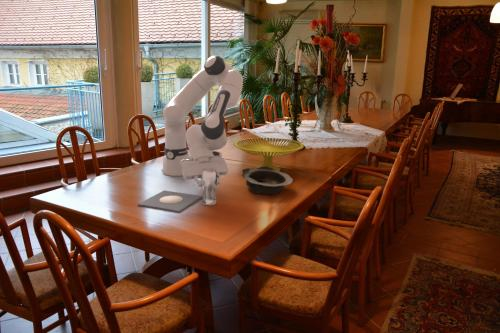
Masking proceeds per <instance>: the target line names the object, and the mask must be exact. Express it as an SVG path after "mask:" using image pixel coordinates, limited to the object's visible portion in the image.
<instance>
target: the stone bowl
mask: <svg viewBox="0 0 500 333" xmlns="http://www.w3.org/2000/svg"><path fill="white" fill-rule="evenodd" d="M261 166H262V165H261ZM258 167H259V166H258ZM241 177H242V178H243V179H245V180H246V181H245V185H246V186H247V187H248V188H249V189H250V192H252V193H254V194H260V195H264V194H267V195H275V194H278V193H280V192H281V191H282V190H283V189H284V187H285V186H288V185H291V183H292V184H293V180H294V179H293V178H292V177H291V175H289V174H287V173H286V172H281V171H275V170H274V169H273V168H270V167H263V166H262V167H259V168H257V167H256V168H245V169H242V174H241Z"/></svg>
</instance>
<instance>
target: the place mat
mask: <svg viewBox="0 0 500 333" xmlns="http://www.w3.org/2000/svg"><path fill="white" fill-rule="evenodd" d="M201 199H203V195H197V194H192V193H191V194H190V193H186V192H184V193H183V192H179V191H178V192H177V191H171V190H162V191H160V192H158V193H156V194H154V195H153V196H151V197H150V196H149V198H146V199H145V200H143V201H140V202H138V203H137V206H138V207H142V208H143V207H144V208H150V209H155V210H162V211H168V212H174V213H178V214H180V213H181V212H183V211H184V210H186V209H187V208H189V207H190V206H192V205H193V204H196V202H198V201H200V200H201Z"/></svg>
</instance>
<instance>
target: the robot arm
mask: <svg viewBox="0 0 500 333" xmlns="http://www.w3.org/2000/svg"><path fill="white" fill-rule="evenodd" d="M215 86H216V87H217V86H218V88H217V93H216V95H215V98H214V99H213V102H212V106H211V107H210V109H209V112H208V114H207V115H206V116H205V117H204V118H203V120H202V121H201V124H192V125H191V126H189V127H188V128H186V124H187V123H186V121H187V120H186V117H187V116H188V115H189V113H190V112H192V110H193V109H194V108H195V107H196V106H197V105H198V103H199V102H201V100H203V98H204V97H205V96H206V95H208V93H209V92H210V91H211V90H212V89H213V87H215ZM242 89H243V75H242V74H241V73H240V72H239V71H237V70H236V69H234V68H233V67H232V66H230V65H229V64H228V63H227V61H226V60H224V59H223V58H222V57H221V56H220V55H217V54H213V55H211V56H209V57H208V58H206V60H205V61H204V65H203V68H202V69H200V70H198V72H197V73H196V74H194V75H193V77H192V78H190V79H189V81H188V82H187V83H186V84H185V85H183V87H182V88H181V89H180V90H179V91H178V92H177V93H176V94H175V95H174V96H173V97H172V99H171V100H170V101H169V102H167V103H166V105H165V106H164V108H163V112H162V114H163V118H164V144H165V146H164V150H163V151H164V156H163V159H162V160H163V162H162V168H161V169H160V170H161V172H162V173H163V175H165V176H171V177H178V176H179V177H180V176H182V178H183V179H184V180H193V182H195V183H196V184H197V186H198V188H202V182H201V180H199V179H201V170H202V169H204V168H214V169H216V170H217V186H218V185H221V181H220V179H221V177H223V176H226V175H227V173H228V172H229V167H228V164H227V162H226V160H225V158H223V157H222V156H223V154H222V152H220V151H217V150H220V149H222V148H224V147H225V146H226V145H227V143H228V136H227V133H226V132H227V131H226V129H225V122H224V116H225V114H226V111H227V109H232V108H233V107H235V106H237V104H238V102H239V100H240V98H241V94H242ZM203 171H205V172H213V171H212V170H210V169H205V170H203Z"/></svg>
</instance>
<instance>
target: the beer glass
mask: <svg viewBox="0 0 500 333" xmlns="http://www.w3.org/2000/svg"><path fill="white" fill-rule="evenodd" d="M205 169H210V170H212V171H213V172H205V171H203V170H205ZM217 179H218V178H217V170H216V169H214V168H204V169H202V170H201V178H200V181H201V182H202V187H201V191H202V201H201V202H202V205H204V206H214V205H216V204H217V200H216V199H217V198H216V190H217V186H218V185H217Z"/></svg>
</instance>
